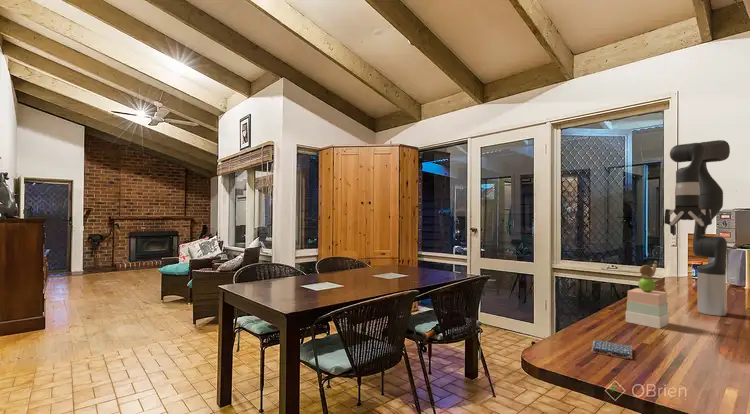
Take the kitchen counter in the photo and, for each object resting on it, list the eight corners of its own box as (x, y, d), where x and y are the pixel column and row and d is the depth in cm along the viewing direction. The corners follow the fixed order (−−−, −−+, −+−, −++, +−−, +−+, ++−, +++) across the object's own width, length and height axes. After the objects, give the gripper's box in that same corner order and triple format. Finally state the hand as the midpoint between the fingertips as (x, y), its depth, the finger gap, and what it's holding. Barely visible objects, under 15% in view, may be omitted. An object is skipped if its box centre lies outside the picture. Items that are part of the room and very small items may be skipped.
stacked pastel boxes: (635, 317, 154) (635, 287, 155) (668, 323, 146) (668, 292, 146) (625, 321, 147) (625, 290, 148) (659, 328, 139) (659, 295, 139)
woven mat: (632, 351, 116) (632, 344, 116) (632, 361, 107) (632, 354, 107) (593, 344, 122) (593, 338, 122) (590, 354, 113) (590, 347, 113)
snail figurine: (661, 293, 144) (661, 261, 144) (644, 293, 144) (644, 261, 144) (651, 290, 149) (651, 260, 149) (635, 290, 149) (635, 259, 150)
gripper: (713, 194, 145) (713, 236, 145) (668, 195, 156) (668, 234, 156) (708, 193, 141) (708, 236, 140) (662, 194, 152) (662, 234, 151)
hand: (687, 235), depth 148 cm, fingers open, 8 cm apart
